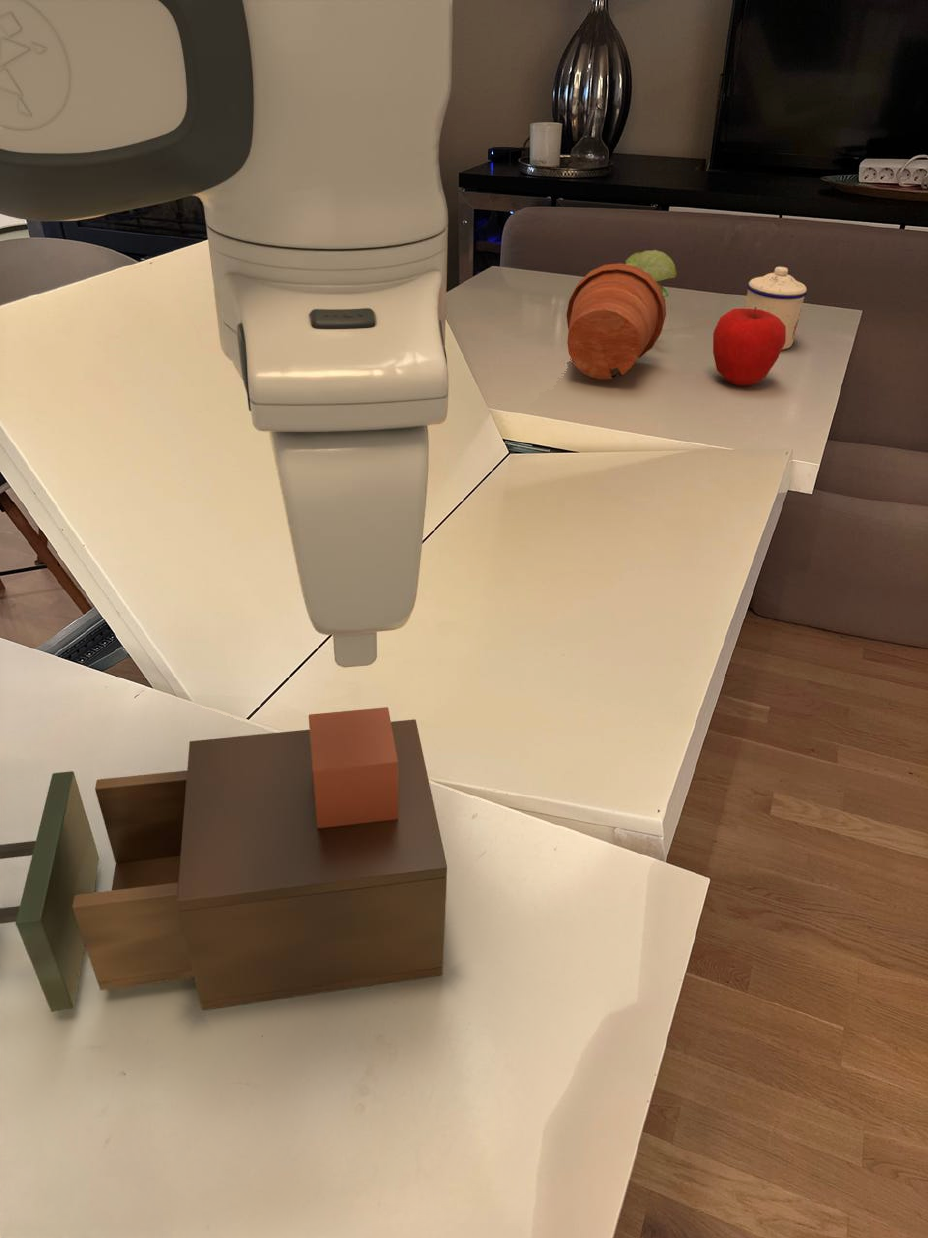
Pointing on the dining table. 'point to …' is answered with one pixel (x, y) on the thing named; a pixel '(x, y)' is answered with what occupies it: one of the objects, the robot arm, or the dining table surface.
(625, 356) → the potted plant
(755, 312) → the apple
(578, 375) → the dining table surface
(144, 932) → the drawer
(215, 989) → the cabinet
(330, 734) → the block
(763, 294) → the teacup with lid
